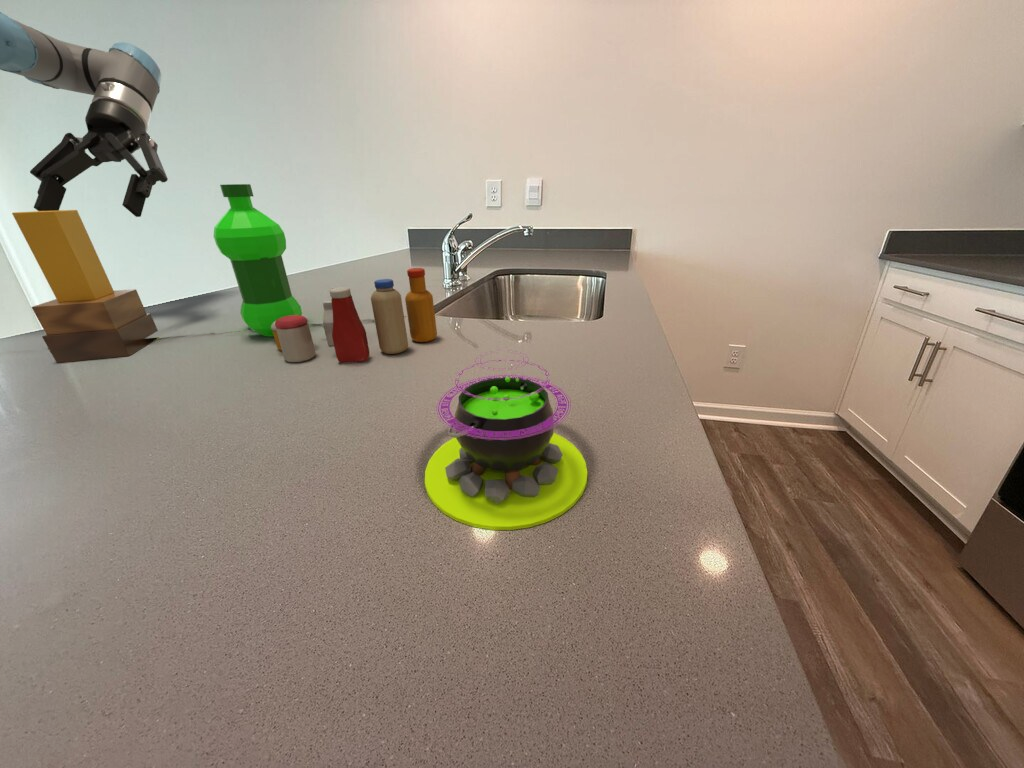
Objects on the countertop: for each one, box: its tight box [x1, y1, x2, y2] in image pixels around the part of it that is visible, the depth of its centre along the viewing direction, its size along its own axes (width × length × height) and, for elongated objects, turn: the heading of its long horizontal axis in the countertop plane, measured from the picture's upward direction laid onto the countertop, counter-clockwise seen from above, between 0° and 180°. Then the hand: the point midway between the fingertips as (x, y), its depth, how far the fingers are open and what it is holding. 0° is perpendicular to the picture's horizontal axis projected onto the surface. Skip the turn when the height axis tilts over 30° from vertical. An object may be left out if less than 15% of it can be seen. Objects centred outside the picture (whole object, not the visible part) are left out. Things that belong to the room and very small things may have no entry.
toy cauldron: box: [424, 349, 588, 531], centre depth 35 cm, size 15×15×11 cm
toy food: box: [271, 267, 438, 364], centre depth 65 cm, size 27×13×12 cm, turn 92°
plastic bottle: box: [213, 183, 303, 338], centre depth 71 cm, size 10×10×25 cm
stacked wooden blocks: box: [31, 288, 160, 364], centre depth 68 cm, size 10×10×9 cm
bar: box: [11, 209, 115, 302], centre depth 63 cm, size 5×5×13 cm
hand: (88, 212), depth 67 cm, fingers open, 13 cm apart
